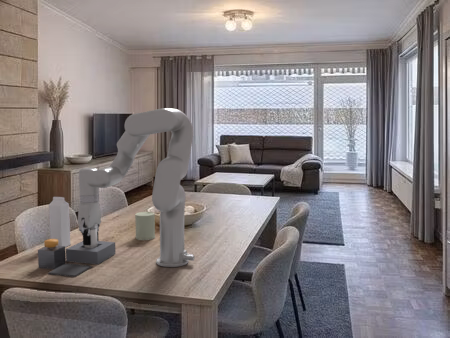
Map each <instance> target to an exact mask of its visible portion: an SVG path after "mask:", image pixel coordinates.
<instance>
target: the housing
mask: <svg viewBox="0 0 450 338" xmlns="http://www.w3.org/2000/svg"><path fill="white" fill-rule="evenodd" d="M97 246H98V247H96V248H85V245H83V240H82V241H80V242H78V243H76V244H73V245H72V246H71V245H70V246H68V248H65V256H66V263H69V262H70V263H77V264H80V263H81V264H88V265H100V264H101V263H103V262H105V261H106V260H108V259H109V258H112V257H113V256H115V255H116V253H117V252H116V241H115V242H114V241H104V240H99V241H98V242H97Z"/></svg>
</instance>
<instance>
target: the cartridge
mask: <svg viewBox="0 0 450 338" xmlns="http://www.w3.org/2000/svg"><path fill="white" fill-rule="evenodd" d="M85 228H87V226H85ZM85 230H86V231H87V229H85ZM90 235H91V245H85V248H96V247H98V246H97V224H94V225H93V227H91V228H90Z"/></svg>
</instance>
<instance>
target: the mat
mask: <svg viewBox="0 0 450 338" xmlns="http://www.w3.org/2000/svg"><path fill="white" fill-rule="evenodd" d="M92 267H93V266H92V265H91V264H88V265H87V264H80V263H69V262H66V264H64V265H62V266H60V267H58V268H56V269H52V270H51V271H49V272H48V275H53V276H61V277H62V276H64V277H71V278H72V277H73V278H76V277H78V276H79V275H81V274H83V273H84V272H87V271H88V270H89V269H91V268H92Z"/></svg>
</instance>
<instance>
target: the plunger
mask: <svg viewBox="0 0 450 338" xmlns="http://www.w3.org/2000/svg"><path fill="white" fill-rule="evenodd" d="M43 245H44V246H43V247H47V248H50V249H54V247H56V246H58V239H50V238H49V239H45V240H44V243H43Z"/></svg>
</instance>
